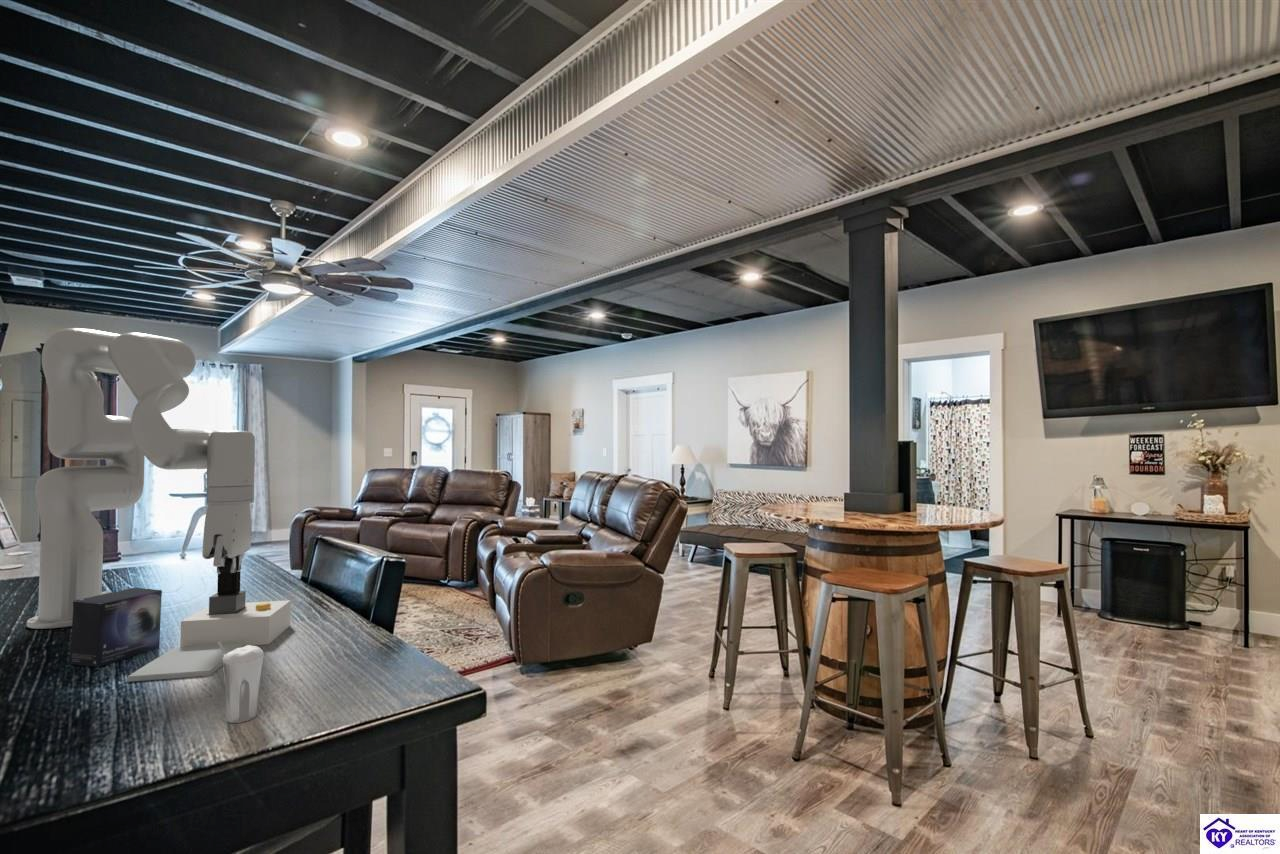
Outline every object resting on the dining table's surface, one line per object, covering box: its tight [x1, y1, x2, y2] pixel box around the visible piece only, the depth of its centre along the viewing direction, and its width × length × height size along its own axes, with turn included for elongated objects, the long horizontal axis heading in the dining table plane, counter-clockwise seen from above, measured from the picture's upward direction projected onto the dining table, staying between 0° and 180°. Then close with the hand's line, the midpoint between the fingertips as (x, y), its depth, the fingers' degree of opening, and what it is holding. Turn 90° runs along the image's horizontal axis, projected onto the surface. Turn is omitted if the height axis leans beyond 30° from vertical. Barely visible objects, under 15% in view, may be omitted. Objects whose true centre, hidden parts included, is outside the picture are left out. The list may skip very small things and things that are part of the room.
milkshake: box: [218, 642, 265, 724], centre depth 81 cm, size 4×5×10 cm
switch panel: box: [179, 599, 292, 647], centre depth 115 cm, size 12×14×6 cm
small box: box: [68, 587, 163, 668], centre depth 105 cm, size 11×6×10 cm, turn 168°
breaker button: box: [208, 590, 247, 615], centre depth 115 cm, size 4×4×6 cm
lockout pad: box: [126, 643, 245, 683], centre depth 101 cm, size 14×11×1 cm
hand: (228, 593), depth 115 cm, fingers closed
